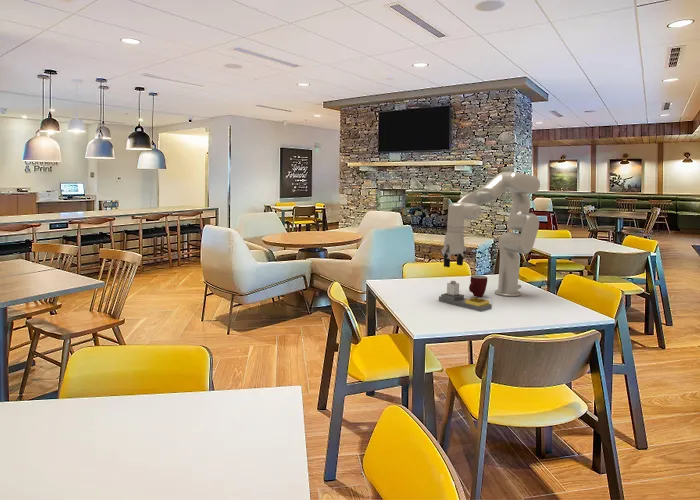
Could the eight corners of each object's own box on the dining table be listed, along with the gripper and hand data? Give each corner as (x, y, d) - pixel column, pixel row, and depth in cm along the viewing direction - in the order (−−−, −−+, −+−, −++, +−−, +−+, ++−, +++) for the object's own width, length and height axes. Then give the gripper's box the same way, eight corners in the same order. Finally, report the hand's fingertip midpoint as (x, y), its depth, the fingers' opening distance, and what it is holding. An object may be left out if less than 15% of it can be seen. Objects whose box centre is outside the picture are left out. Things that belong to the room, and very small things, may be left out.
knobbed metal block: (451, 296, 238) (452, 280, 237) (458, 297, 235) (459, 281, 234) (446, 297, 235) (447, 281, 234) (453, 299, 232) (454, 282, 231)
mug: (477, 300, 240) (478, 279, 238) (463, 296, 246) (464, 277, 244) (489, 296, 247) (490, 277, 246) (475, 293, 253) (476, 274, 251)
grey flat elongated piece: (449, 298, 242) (449, 291, 241) (491, 308, 224) (491, 301, 223) (438, 301, 237) (439, 293, 236) (481, 311, 219) (481, 303, 218)
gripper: (460, 228, 239) (458, 263, 241) (437, 229, 228) (435, 266, 230) (473, 230, 233) (470, 265, 236) (450, 231, 222) (447, 268, 224)
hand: (453, 266), depth 233 cm, fingers open, 9 cm apart
